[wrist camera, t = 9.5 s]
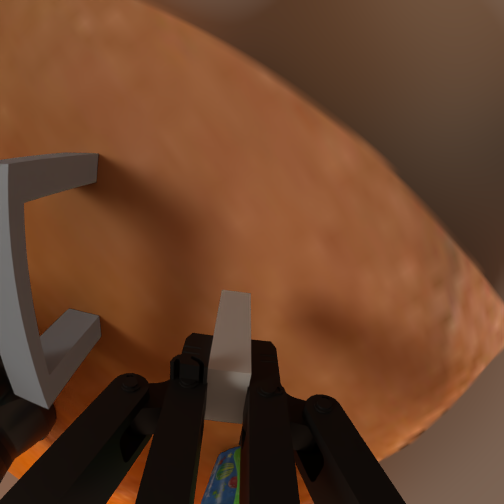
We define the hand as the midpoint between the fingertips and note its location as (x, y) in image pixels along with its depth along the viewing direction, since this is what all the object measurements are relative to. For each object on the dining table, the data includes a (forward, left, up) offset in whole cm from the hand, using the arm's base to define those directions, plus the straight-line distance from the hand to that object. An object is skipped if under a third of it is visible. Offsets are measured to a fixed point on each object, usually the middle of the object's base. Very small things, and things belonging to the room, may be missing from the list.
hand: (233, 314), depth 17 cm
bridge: (0, +12, -5) cm, 13 cm away
